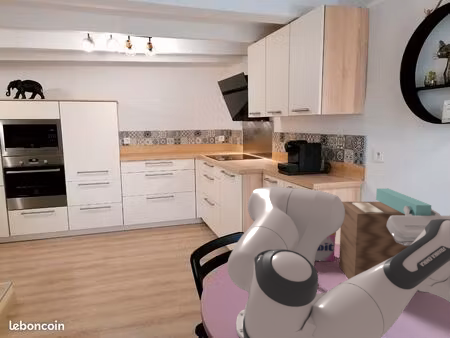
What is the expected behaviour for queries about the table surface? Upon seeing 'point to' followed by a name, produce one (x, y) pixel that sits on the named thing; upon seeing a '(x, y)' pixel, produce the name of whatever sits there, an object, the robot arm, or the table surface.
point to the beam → (402, 202)
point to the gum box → (326, 249)
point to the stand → (366, 237)
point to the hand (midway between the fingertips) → (416, 207)
